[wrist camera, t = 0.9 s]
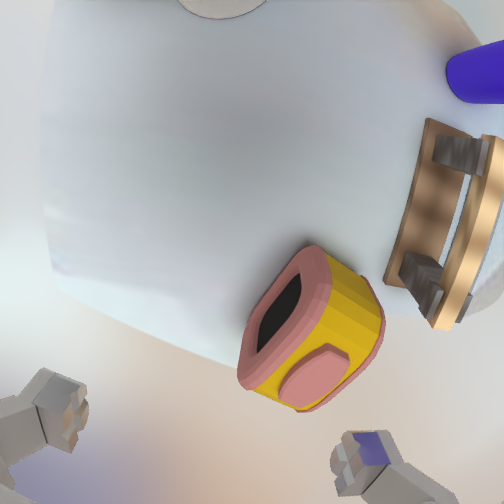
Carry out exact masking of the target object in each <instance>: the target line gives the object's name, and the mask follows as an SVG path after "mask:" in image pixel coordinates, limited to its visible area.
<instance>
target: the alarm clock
mask: <svg viewBox="0 0 504 504" xmlns="http://www.w3.org/2000/svg"><path fill="white" fill-rule="evenodd" d="M385 326H386V321H385V315H384V310H383V308H382V306H381V304H380V302H379V301H378V299H377V297H376V295H375V293H374V291H373V289H372V287H371V285H370V283H369V281H368V280H367V279H366V278H365V277H364V276H362V275H360V276H359V275H358V274H356V273H355V272H353V271H352V270H350V269H349V268H347V267H346V266H344V265H343V264H342V263H340V262H339V261H337V260H336V259H334V258H333V257H331V256H330V255H328V254H327V253H325V252H324V250H323V249H322V248H321V247H320V246H317V245H311V246H308V247H305V248H303V249H302V250H301V251H299V252H298V253H297V254H296V255H295V257H294V258H293V259H292V260H291V261H290V262H289V264H288V265H287V266H286V268H285V269H284V270H283V272H282V273H281V274H280V276H279V277H278V278H277V280H276V281H275V282H274V284H273V285H272V286H271V287H270V289H269V290H268V291H267V293H266V294H265V295H264V297H263V298H262V299H261V301H260V302H259V303H258V305H257V306H256V308H255V309H254V311H253V313H252V315H251V317H250V319H249V321H248V323H247V326H246V328H245V331H244V335H243V339H242V345H241V351H240V356H239V362H238V368H237V377H238V381H239V383H240V384H241V386H242V387H243V388H244V389H246V390H253V391H255V392H257V393H259V394H261V395H264V396H266V397H268V398H270V399H272V400H275V401H277V402H279V403H282V404H284V405H286V406H288V407H291V408H293V409H295V410H296V411H297V412H299V413H305V412H312V411H314V410H316V409H317V408H319V407H321V406H322V405H324V404H326V403H327V402H328V401H330V400H331V399H332V398H333V397H335V395H337V394H338V393H339V392H340V391H341V390H343V389H344V388H345V387H346V386H347V385H348V384H349V383H351V382H352V381H353V380H354V379H355V378H356V377H357V376H358V375H359V374H360V373H362V372H363V370H365V369H366V367H367V366H368V365H369V364H370V363H371V361H372V360H373V359H374V358H375V356H376V354H377V352H378V350H379V348H380V346H381V344H382V342H383V337H384V332H385Z"/></svg>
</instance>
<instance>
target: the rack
mask: <svg viewBox="0 0 504 504" xmlns="http://www.w3.org/2000/svg"><path fill="white" fill-rule="evenodd" d="M472 137H473V136H470V135H468V134H466V133H464V132H462V131H459V130H457V129H455V128H453V127H450V126H448V125H446V124H443V123H441V122H438V121H436V120H433V119H431V118H426V122H425V128H424V133H423V138H422V143H421V148H420V152H419V157H418V161H417V166H416V170H415V174H414V178H413V182H412V186H411V190H410V194H409V198H408V201H407V205H406V209H405V212H404V216H403V219H402V223H401V226H400V229H399V233H398V236H397V239H396V242H395V245H394V248H393V251H392V254H391V258H390V260H389V263H388V266H387V269H386V272H385V275H384V278H383V282H384V283H385V285H390V286H395V287H401V288H407V289H408V290H409V291H410V293H411V294H412V296H413V297H414V299H415V300H416V302H417V303H418V304H419V308H418V309H419V310H420V312H421V313H422V315H423V316H424V318H425V319H431V320H432V317H433V315H434V313H435V311H436V309H437V307H438V304H439V302H440V300H441V298H442V295H443V293H444V290H443V289H442V288H441V287H440V286H439V285H438V283H439V281H440V279H441V276H442V273H443V271H444V268H443V267H442V266H441V265H440V264H439V263H438V261H439V258H440V255H441V253H442V250H443V247H444V244H445V241H446V238H447V235H448V232H449V229H450V226H451V223H452V219H453V216H454V213H455V209H456V206H457V202H458V199H459V195H460V191H461V187H462V183H463V179H464V175H465V173H466V174H469V175H472V176H473V174H475V175H478V176H481V177H482V175H483V170H484V166H485V161H486V156H487V151H488V146H489V142H487V141H485V140H483V139H476V138H472ZM472 297H473V296H472V295H471V294H470V293H469V292H468V295H467V297H466V299H465V301H464V304H463V306H462V308H461V310H460V312H459V314H458V316H457V318H456V320H455V323H460V322H461V320H462V318H463V316H464V314H465V312H466V310H467V308H468V306H469V304H470V302H471V299H472Z"/></svg>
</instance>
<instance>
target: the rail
mask: <svg viewBox="0 0 504 504" xmlns="http://www.w3.org/2000/svg"><path fill="white" fill-rule="evenodd" d="M481 139H483V140H485V141H487V142H489V146H488V151H487V156H486V161H485V166H484V170H483V175H482V177H481V176H478V175H475V174H473V179H472V183H471V187H470V190H469V194H468V198H467V202H466V205H465V209H464V212H463V215H462V219H461V222H460V225H459V228H458V231H457V235H456V238H455V241H454V243H453V246H452V249H451V252H450V255H449V258H448V260H447V263H446V266H445V268H444V271H443V273H442V276H441V279H440V281H439V283H438V285H439V286H440V287H441V288H442V289H443V290H444V293H443V295H442V298H441V300H440V302H439V304H438V307H437V309H436V311H435V313H434V315H433V317H432V320H431V319H427V321H428V322H429V323H430V325H431V327H432V328H433V329H438V330H448V331H450V330H451V328H452V326H453V324H454V322H455V320H456V318H457V316H458V314H459V312H460V310H461V308H462V306H463V304H464V301H465V299H466V297H467V295H468V292H469V290H470V288H471V285H472V283H473V281H474V278H475V276H476V273H477V271H478V268H479V266H480V263H481V261H482V258H483V255H484V252H485V250H486V247H487V244H488V241H489V238H490V235H491V232H492V229H493V226H494V223H495V219H496V216H497V213H498V209H499V206H500V202H501V198H502V195H503V191H504V140H502V139H501V138H499V137H497V136H491V135H484V134H482V136H481Z"/></svg>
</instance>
